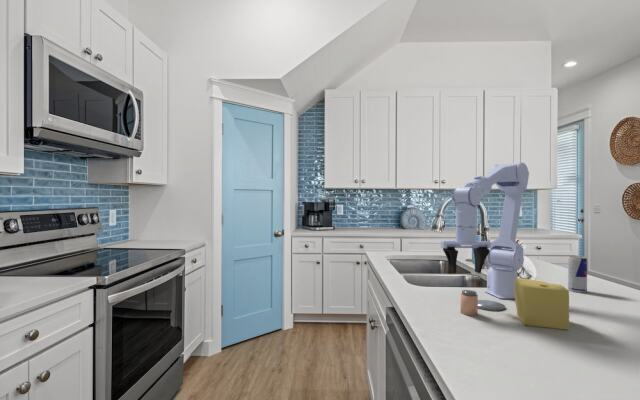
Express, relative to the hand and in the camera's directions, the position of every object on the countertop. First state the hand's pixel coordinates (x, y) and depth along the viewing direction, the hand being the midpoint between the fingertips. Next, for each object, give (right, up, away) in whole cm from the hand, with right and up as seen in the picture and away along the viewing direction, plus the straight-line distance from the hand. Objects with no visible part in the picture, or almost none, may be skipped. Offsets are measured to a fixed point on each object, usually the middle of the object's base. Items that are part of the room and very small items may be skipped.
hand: (465, 272), depth 105 cm
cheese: (+14, -10, -13) cm, 22 cm away
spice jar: (-2, -10, -7) cm, 12 cm away
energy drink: (+47, -11, +19) cm, 52 cm away
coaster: (+7, -10, 0) cm, 12 cm away
